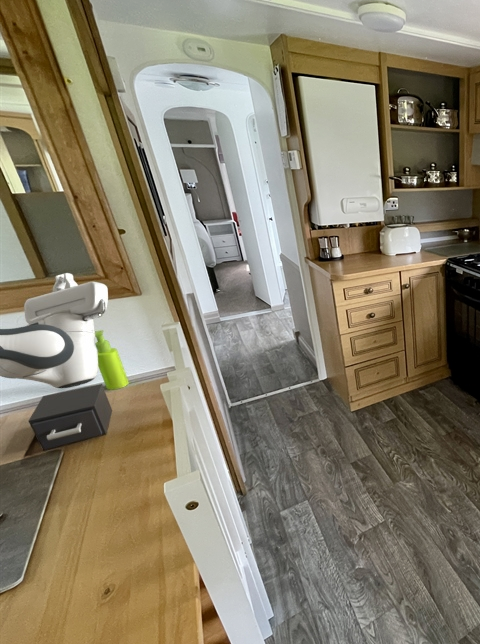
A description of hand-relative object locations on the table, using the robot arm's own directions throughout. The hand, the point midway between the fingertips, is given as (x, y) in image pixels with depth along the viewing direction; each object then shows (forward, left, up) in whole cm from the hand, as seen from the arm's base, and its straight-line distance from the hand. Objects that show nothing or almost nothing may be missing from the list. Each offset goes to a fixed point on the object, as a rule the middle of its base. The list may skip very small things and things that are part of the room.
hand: (64, 274), depth 99 cm
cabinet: (-8, -3, -44) cm, 45 cm away
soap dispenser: (-2, +24, -44) cm, 51 cm away
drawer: (-8, -6, -43) cm, 45 cm away
